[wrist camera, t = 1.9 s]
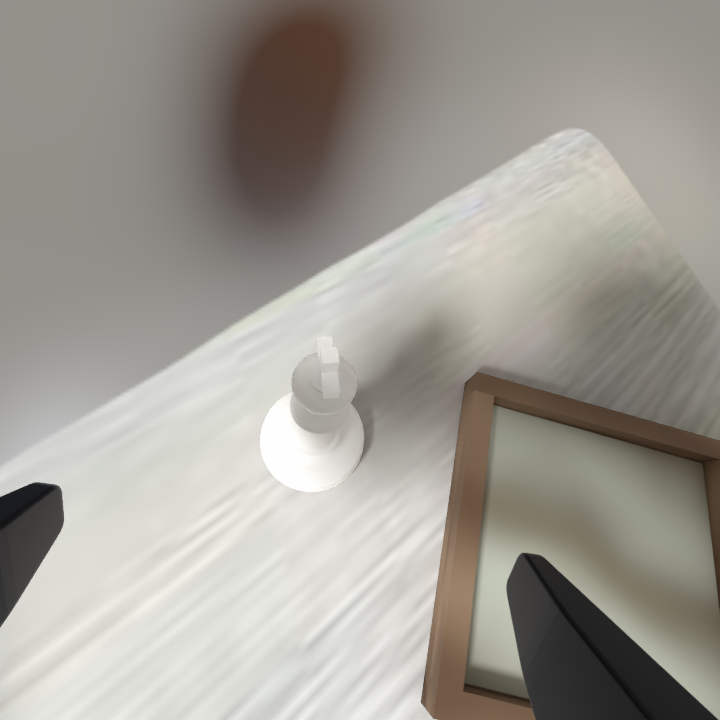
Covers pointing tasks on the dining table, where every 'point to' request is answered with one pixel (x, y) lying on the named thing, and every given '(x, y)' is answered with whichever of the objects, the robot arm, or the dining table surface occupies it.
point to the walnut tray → (573, 541)
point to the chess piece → (315, 424)
